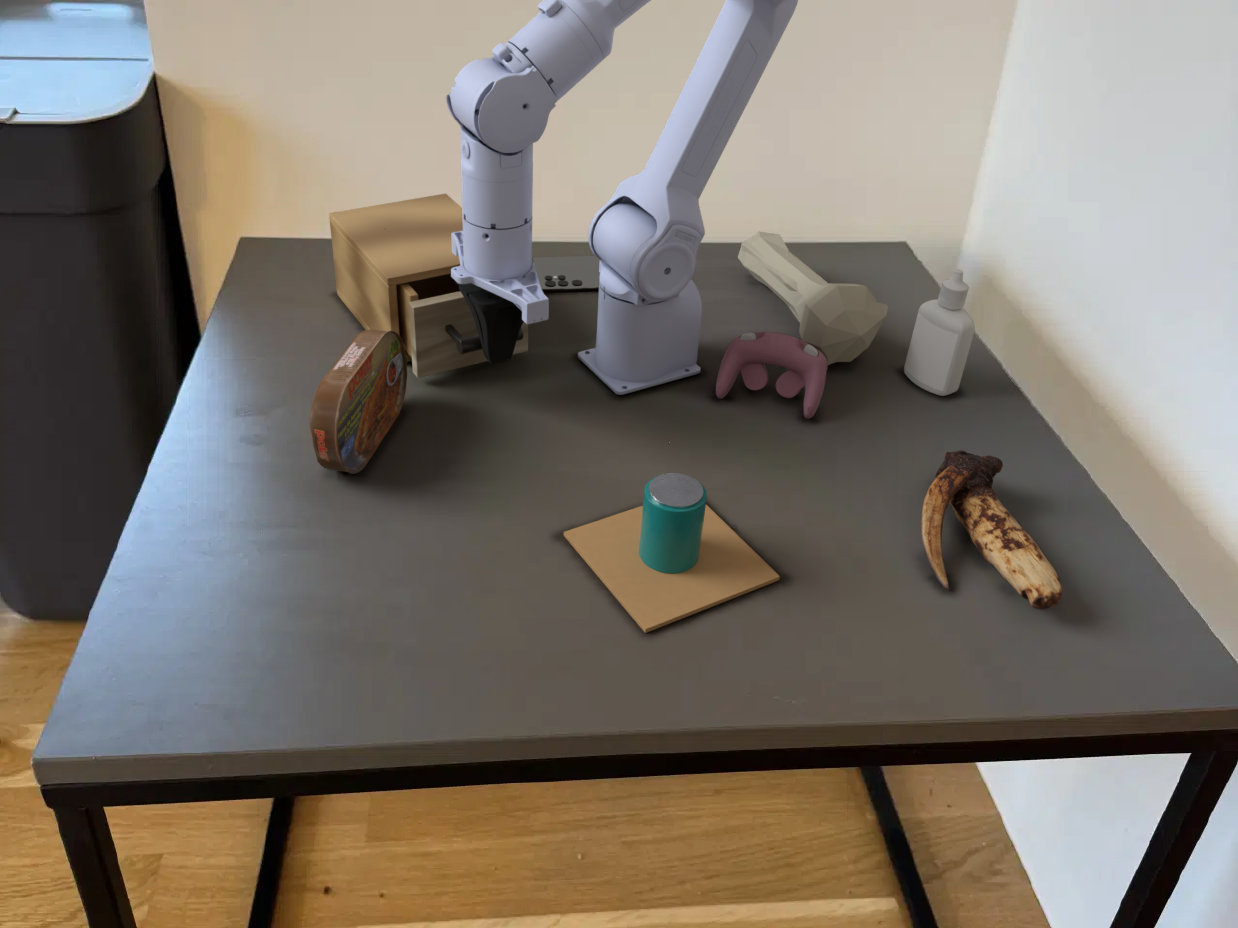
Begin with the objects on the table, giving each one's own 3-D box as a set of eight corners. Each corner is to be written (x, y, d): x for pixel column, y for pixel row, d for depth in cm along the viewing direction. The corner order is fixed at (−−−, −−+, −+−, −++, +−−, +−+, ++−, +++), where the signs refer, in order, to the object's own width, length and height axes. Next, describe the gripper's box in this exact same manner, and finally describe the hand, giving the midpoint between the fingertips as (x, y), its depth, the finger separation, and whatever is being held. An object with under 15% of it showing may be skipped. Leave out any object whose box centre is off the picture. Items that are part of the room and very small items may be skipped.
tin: (347, 494, 89) (337, 406, 84) (310, 487, 89) (298, 400, 84) (412, 396, 101) (407, 314, 96) (379, 391, 101) (373, 309, 96)
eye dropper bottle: (917, 398, 105) (946, 285, 98) (899, 367, 110) (926, 257, 103) (961, 398, 106) (993, 285, 99) (941, 367, 110) (971, 257, 103)
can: (653, 527, 87) (659, 463, 83) (707, 545, 85) (716, 481, 82) (629, 561, 83) (634, 496, 80) (685, 581, 82) (693, 515, 78)
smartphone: (686, 284, 121) (541, 287, 118) (686, 289, 121) (540, 291, 118) (671, 253, 127) (532, 255, 124) (670, 258, 127) (532, 259, 124)
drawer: (548, 371, 104) (550, 302, 99) (436, 401, 99) (432, 329, 94) (464, 287, 116) (463, 222, 112) (361, 309, 111) (355, 242, 107)
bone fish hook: (873, 487, 94) (964, 633, 80) (882, 441, 92) (977, 584, 77) (975, 477, 96) (1082, 619, 81) (987, 432, 93) (1100, 570, 79)
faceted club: (803, 377, 105) (705, 271, 125) (875, 388, 109) (769, 284, 129) (839, 293, 101) (732, 198, 121) (913, 307, 105) (797, 212, 125)
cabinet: (513, 337, 110) (513, 253, 105) (393, 365, 105) (387, 278, 99) (448, 272, 121) (445, 193, 115) (337, 294, 115) (328, 213, 110)
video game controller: (819, 417, 104) (836, 344, 103) (814, 421, 100) (832, 345, 99) (718, 394, 107) (734, 322, 105) (709, 397, 102) (725, 322, 101)
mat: (690, 492, 91) (691, 489, 91) (779, 580, 83) (780, 576, 83) (563, 535, 86) (563, 531, 86) (645, 633, 78) (645, 629, 78)
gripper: (416, 190, 93) (423, 331, 101) (492, 260, 84) (493, 409, 92) (491, 177, 97) (493, 315, 105) (573, 243, 87) (568, 389, 95)
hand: (498, 358), depth 98 cm, fingers closed
